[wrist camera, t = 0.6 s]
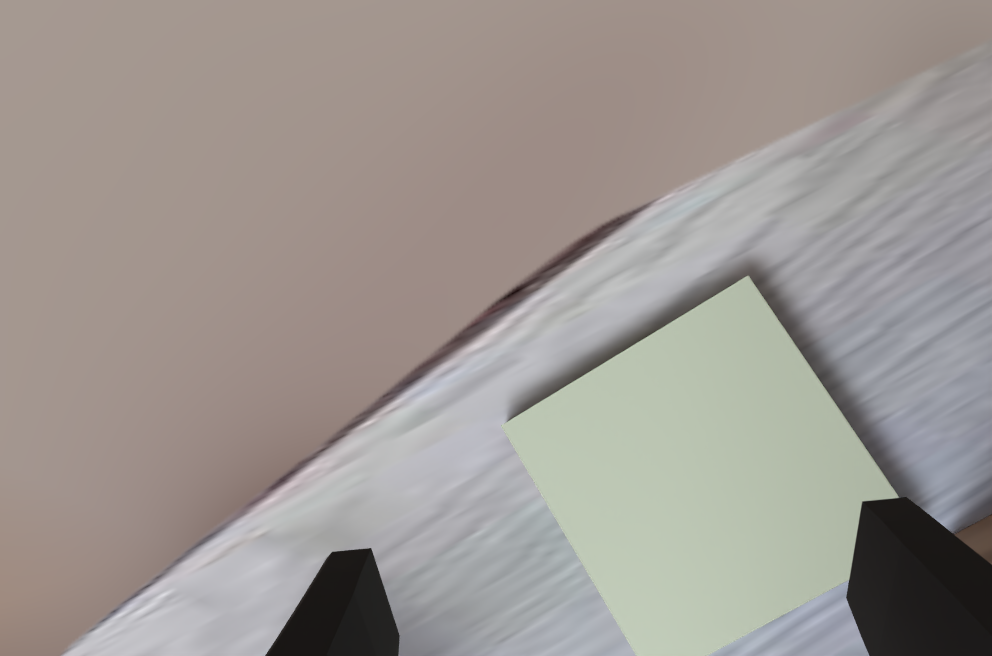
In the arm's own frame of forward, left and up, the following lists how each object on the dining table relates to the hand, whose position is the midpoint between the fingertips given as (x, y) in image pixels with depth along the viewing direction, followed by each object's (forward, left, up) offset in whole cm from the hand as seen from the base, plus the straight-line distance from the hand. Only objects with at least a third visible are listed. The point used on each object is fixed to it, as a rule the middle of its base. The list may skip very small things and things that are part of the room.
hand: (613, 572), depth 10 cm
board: (-4, -2, -25) cm, 25 cm away
